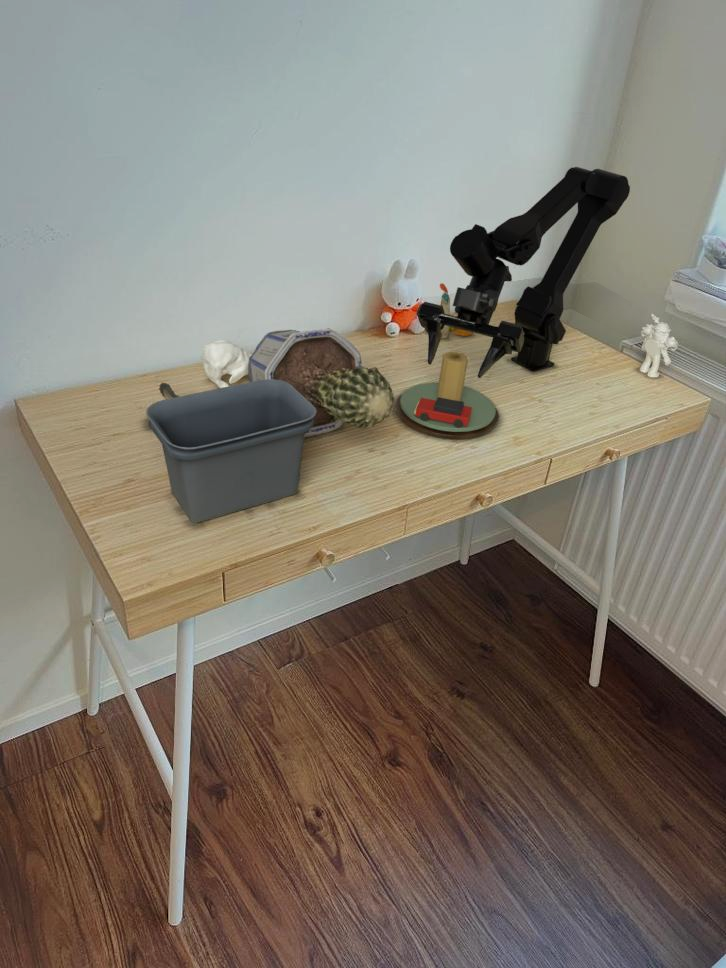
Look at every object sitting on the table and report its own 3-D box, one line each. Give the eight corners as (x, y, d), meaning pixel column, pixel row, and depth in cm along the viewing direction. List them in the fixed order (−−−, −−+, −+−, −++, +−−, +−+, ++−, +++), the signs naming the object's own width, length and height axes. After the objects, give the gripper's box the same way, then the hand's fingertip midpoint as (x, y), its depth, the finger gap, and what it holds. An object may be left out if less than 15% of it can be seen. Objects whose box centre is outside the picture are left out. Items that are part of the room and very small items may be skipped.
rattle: (469, 346, 163) (477, 294, 156) (430, 340, 164) (437, 287, 157) (472, 333, 169) (481, 282, 162) (435, 327, 170) (442, 276, 163)
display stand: (450, 380, 148) (450, 377, 148) (519, 423, 137) (520, 419, 136) (374, 403, 139) (375, 399, 138) (442, 450, 127) (443, 446, 127)
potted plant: (226, 325, 126) (326, 354, 103) (318, 313, 136) (428, 337, 113) (235, 428, 133) (331, 476, 110) (322, 409, 142) (427, 450, 119)
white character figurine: (627, 364, 161) (643, 310, 154) (641, 362, 163) (658, 308, 156) (656, 384, 154) (674, 328, 148) (671, 381, 156) (690, 326, 149)
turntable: (410, 378, 145) (416, 329, 140) (499, 395, 143) (509, 346, 137) (390, 420, 132) (396, 368, 126) (489, 440, 129) (499, 387, 123)
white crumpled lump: (198, 336, 135) (257, 330, 142) (196, 380, 140) (254, 372, 147) (214, 350, 131) (275, 343, 138) (212, 395, 136) (271, 386, 143)
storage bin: (181, 542, 103) (174, 451, 94) (142, 482, 113) (133, 396, 105) (320, 501, 113) (325, 416, 105) (273, 450, 123) (274, 369, 115)
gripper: (427, 256, 131) (395, 337, 129) (533, 280, 125) (501, 366, 123) (437, 287, 142) (407, 363, 139) (535, 311, 136) (506, 391, 133)
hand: (453, 370), depth 133 cm, fingers open, 9 cm apart
